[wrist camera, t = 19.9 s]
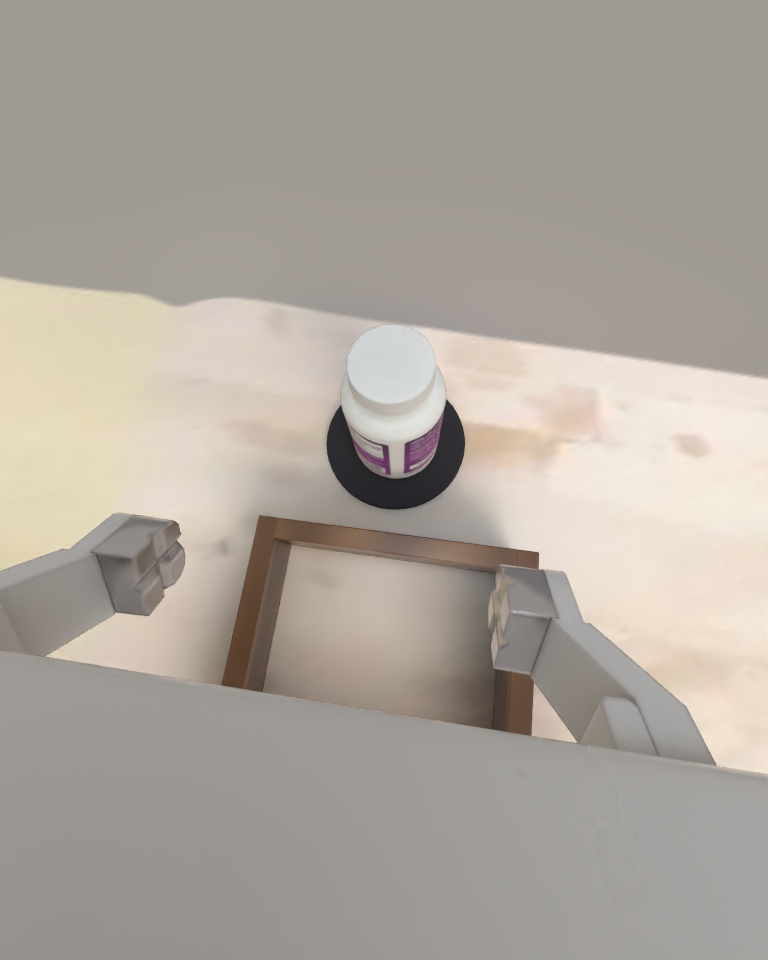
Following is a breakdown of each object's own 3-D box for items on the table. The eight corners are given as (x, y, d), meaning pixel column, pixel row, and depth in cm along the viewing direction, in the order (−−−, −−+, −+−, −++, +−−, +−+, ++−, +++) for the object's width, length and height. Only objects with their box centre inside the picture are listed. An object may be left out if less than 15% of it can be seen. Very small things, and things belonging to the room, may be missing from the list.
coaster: (327, 512, 27) (326, 511, 27) (327, 385, 30) (326, 382, 30) (470, 506, 27) (470, 504, 27) (458, 378, 30) (458, 375, 29)
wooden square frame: (223, 799, 23) (186, 839, 19) (279, 528, 27) (258, 515, 23) (503, 852, 22) (524, 905, 18) (518, 560, 26) (539, 552, 22)
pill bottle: (428, 398, 29) (440, 300, 20) (444, 473, 27) (465, 405, 18) (349, 411, 29) (323, 319, 20) (360, 487, 27) (338, 426, 18)
